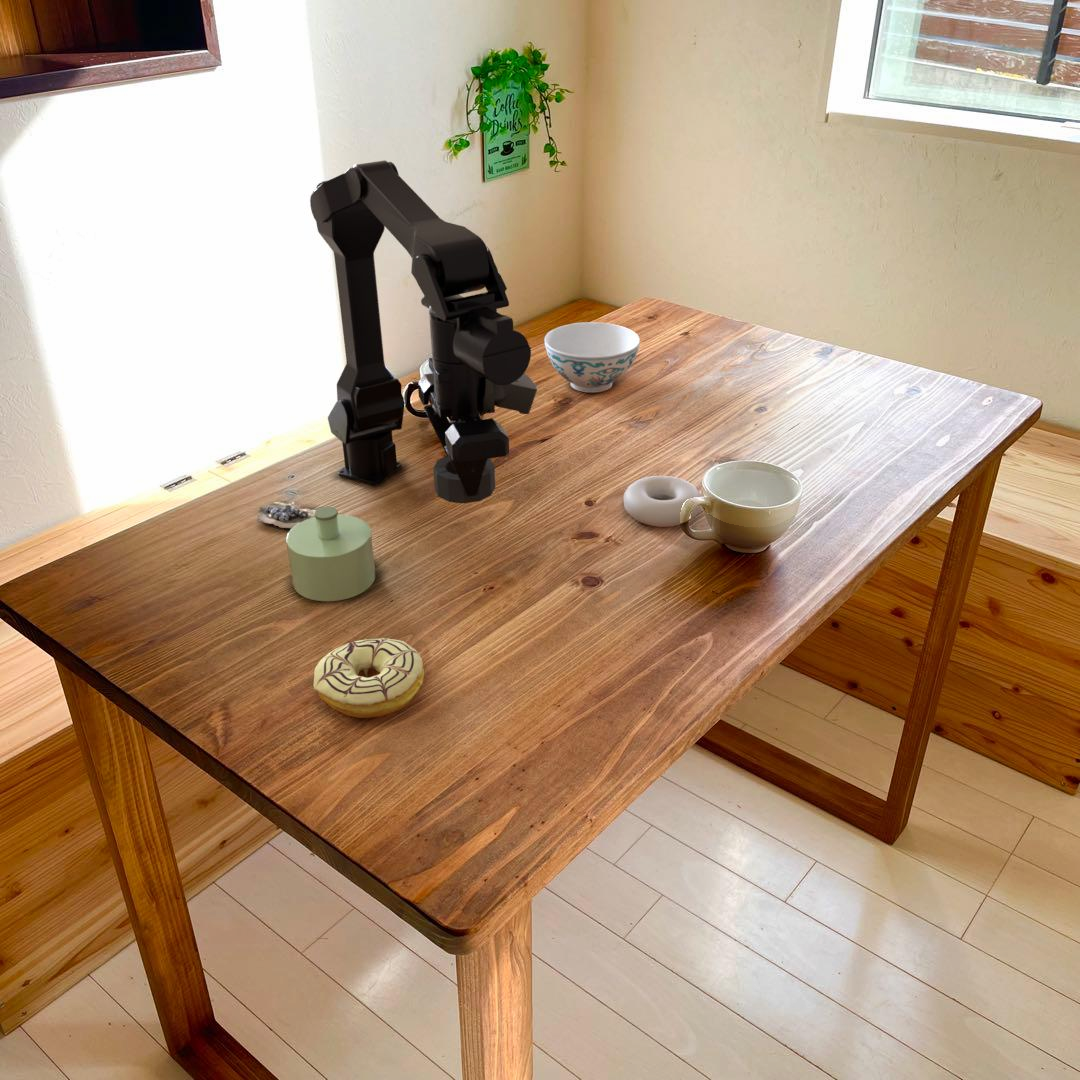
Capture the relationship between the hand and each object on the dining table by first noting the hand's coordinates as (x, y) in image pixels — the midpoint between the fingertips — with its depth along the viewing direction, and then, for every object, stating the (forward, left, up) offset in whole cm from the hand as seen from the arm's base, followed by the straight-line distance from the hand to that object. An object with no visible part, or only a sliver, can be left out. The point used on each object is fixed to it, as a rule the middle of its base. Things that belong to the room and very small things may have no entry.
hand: (464, 481), depth 128 cm
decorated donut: (+4, -26, -10) cm, 29 cm away
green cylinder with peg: (-12, -11, -10) cm, 19 cm away
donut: (+16, +21, -10) cm, 28 cm away
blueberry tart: (-26, -2, -10) cm, 28 cm away
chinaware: (-10, +54, -10) cm, 55 cm away
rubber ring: (0, 0, -1) cm, 1 cm away
